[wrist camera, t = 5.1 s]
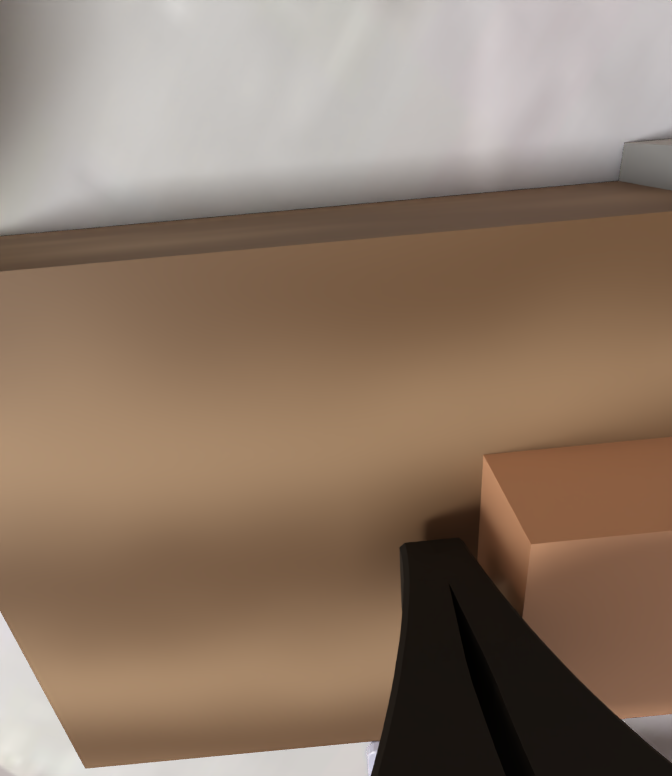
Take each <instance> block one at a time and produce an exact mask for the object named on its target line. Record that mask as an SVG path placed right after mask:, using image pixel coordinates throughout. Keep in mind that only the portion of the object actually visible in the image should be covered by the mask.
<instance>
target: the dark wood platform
mask: <svg viewBox="0 0 672 776" xmlns="http://www.w3.org/2000/svg"><path fill="white" fill-rule="evenodd" d="M663 437H672V190H666V189H661V188H655V187H650V186H644V185H638V184H633V183H627V182H621V181H612V182H601V183H590V184H579V185H567V186H556V187H545V188H534V189H523V190H511V191H500V192H489V193H478V194H467V195H456V196H444V197H433V198H422V199H411V200H400V201H389V202H377V203H366V204H355V205H344V206H333V207H321V208H310V209H299V210H288V211H277V212H266V213H254V214H243V215H232V216H221V217H210V218H199V219H187V220H176V221H165V222H154V223H143V224H131V225H120V226H109V227H98V228H87V229H76V230H64V231H53V232H42V233H31V234H20V235H9V236H0V611H1V613H2V615H3V617H4V619H5V621H6V622H7V624H8V626H9V628H10V630H11V632H12V634H13V635H14V637H15V639H16V641H17V643H18V645H19V647H20V648H21V650H22V652H23V654H24V656H25V658H26V660H27V661H28V663H29V665H30V667H31V669H32V671H33V672H34V674H35V676H36V678H37V680H38V682H39V684H40V685H41V687H42V689H43V691H44V693H45V695H46V697H47V698H48V700H49V702H50V704H51V706H52V708H53V709H54V711H55V713H56V715H57V717H58V719H59V721H60V722H61V724H62V726H63V728H64V730H65V732H66V734H67V735H68V737H69V739H70V741H71V743H72V745H73V747H74V748H75V750H76V752H77V754H78V756H79V758H80V759H81V761H82V763H83V765H84V767H85V768H96V767H106V766H117V765H127V764H138V763H148V762H159V761H169V760H180V759H190V758H201V757H211V756H222V755H232V754H243V753H253V752H264V751H274V750H285V749H295V748H306V747H316V746H327V745H337V744H348V743H359V742H369V741H380V738H381V734H382V730H383V726H384V721H385V717H386V712H387V708H388V703H389V698H390V694H391V688H392V683H393V678H394V672H395V665H396V659H397V652H398V646H399V639H400V631H401V620H402V606H401V578H400V550H399V547H400V546H401V545H403V544H404V543H407V542H417V541H427V540H438V539H448V538H460V539H461V540H463V541H464V542H465V544H466V545H467V547H468V548H469V550H470V551H471V553H472V554H473V556H474V557H475V558H476V560H477V557H478V539H479V522H480V504H481V487H482V469H483V455H486V454H496V453H507V452H517V451H527V450H538V449H548V448H558V447H569V446H579V445H590V444H600V443H611V442H621V441H632V440H642V439H653V438H663Z"/></svg>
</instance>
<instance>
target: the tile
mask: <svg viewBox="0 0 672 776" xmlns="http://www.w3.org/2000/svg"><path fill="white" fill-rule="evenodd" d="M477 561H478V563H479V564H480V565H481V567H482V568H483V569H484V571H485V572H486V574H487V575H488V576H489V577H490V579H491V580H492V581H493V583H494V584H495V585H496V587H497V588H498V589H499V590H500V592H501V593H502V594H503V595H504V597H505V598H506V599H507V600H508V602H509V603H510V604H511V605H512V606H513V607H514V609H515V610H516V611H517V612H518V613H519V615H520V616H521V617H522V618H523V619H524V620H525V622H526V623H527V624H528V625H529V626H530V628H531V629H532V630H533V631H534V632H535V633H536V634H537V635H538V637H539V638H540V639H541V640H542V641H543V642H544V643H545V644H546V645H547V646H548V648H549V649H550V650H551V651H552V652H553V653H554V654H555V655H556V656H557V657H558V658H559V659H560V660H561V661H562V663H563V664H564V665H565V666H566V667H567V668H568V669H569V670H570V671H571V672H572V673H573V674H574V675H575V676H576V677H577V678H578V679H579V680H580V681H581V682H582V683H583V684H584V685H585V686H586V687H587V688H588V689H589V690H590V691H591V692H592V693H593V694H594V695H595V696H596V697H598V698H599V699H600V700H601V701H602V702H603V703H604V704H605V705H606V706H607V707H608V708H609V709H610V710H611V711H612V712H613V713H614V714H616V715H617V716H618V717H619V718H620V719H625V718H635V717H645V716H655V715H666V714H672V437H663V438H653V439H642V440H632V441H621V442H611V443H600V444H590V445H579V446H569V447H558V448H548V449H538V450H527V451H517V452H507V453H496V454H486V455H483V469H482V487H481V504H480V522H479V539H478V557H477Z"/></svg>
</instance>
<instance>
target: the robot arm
mask: <svg viewBox="0 0 672 776" xmlns="http://www.w3.org/2000/svg"><path fill="white" fill-rule="evenodd" d="M399 550H400V578H401V606H402V620H401V631H400V639H399V646H398V652H397V659H396V665H395V672H394V678H393V683H392V688H391V694H390V698H389V703H388V708H387V712H386V717H385V721H384V726H383V730H382V734H381V738H380V741H377V742H373V743H371V744H370V745H369V746H368V747H367V761H368V772H369V776H672V763H671V762H670V761H668V760H667V759H666V758H665V757H664V756H662V755H661V754H660V753H659V752H658V751H656V750H655V749H654V748H653V747H652V746H650V745H649V744H648V743H647V742H646V741H644V740H643V739H642V738H641V737H640V736H639V735H638V734H637V733H635V732H634V731H633V730H632V729H631V728H630V727H629V726H628V725H627V724H626V723H624V722H623V721H622V720H621V719H620V718H619V717H618V716H617V715H616V714H614V713H613V712H612V711H611V710H610V709H609V708H608V707H607V706H606V705H605V704H604V703H603V702H602V701H601V700H600V699H599V698H598V697H596V696H595V695H594V694H593V693H592V692H591V691H590V690H589V689H588V688H587V687H586V686H585V685H584V684H583V683H582V682H581V681H580V680H579V679H578V678H577V677H576V676H575V675H574V674H573V673H572V672H571V671H570V670H569V669H568V668H567V667H566V666H565V665H564V664H563V663H562V661H561V660H560V659H559V658H558V657H557V656H556V655H555V654H554V653H553V652H552V651H551V650H550V649H549V648H548V646H547V645H546V644H545V643H544V642H543V641H542V640H541V639H540V638H539V637H538V635H537V634H536V633H535V632H534V631H533V630H532V629H531V628H530V626H529V625H528V624H527V623H526V622H525V620H524V619H523V618H522V617H521V616H520V615H519V613H518V612H517V611H516V610H515V609H514V607H513V606H512V605H511V604H510V603H509V602H508V600H507V599H506V598H505V597H504V595H503V594H502V593H501V592H500V590H499V589H498V588H497V587H496V585H495V584H494V583H493V581H492V580H491V579H490V577H489V576H488V575H487V574H486V572H485V571H484V569H483V568H482V567H481V565H480V564H479V563H478V561H477V560H476V558H475V557H474V556H473V554H472V553H471V551H470V550H469V548H468V547H467V545H466V544H465V542H464V541H463V540H461V539H460V538H448V539H438V540H427V541H417V542H407V543H404V544H403V545H401V546H400V547H399Z"/></svg>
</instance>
